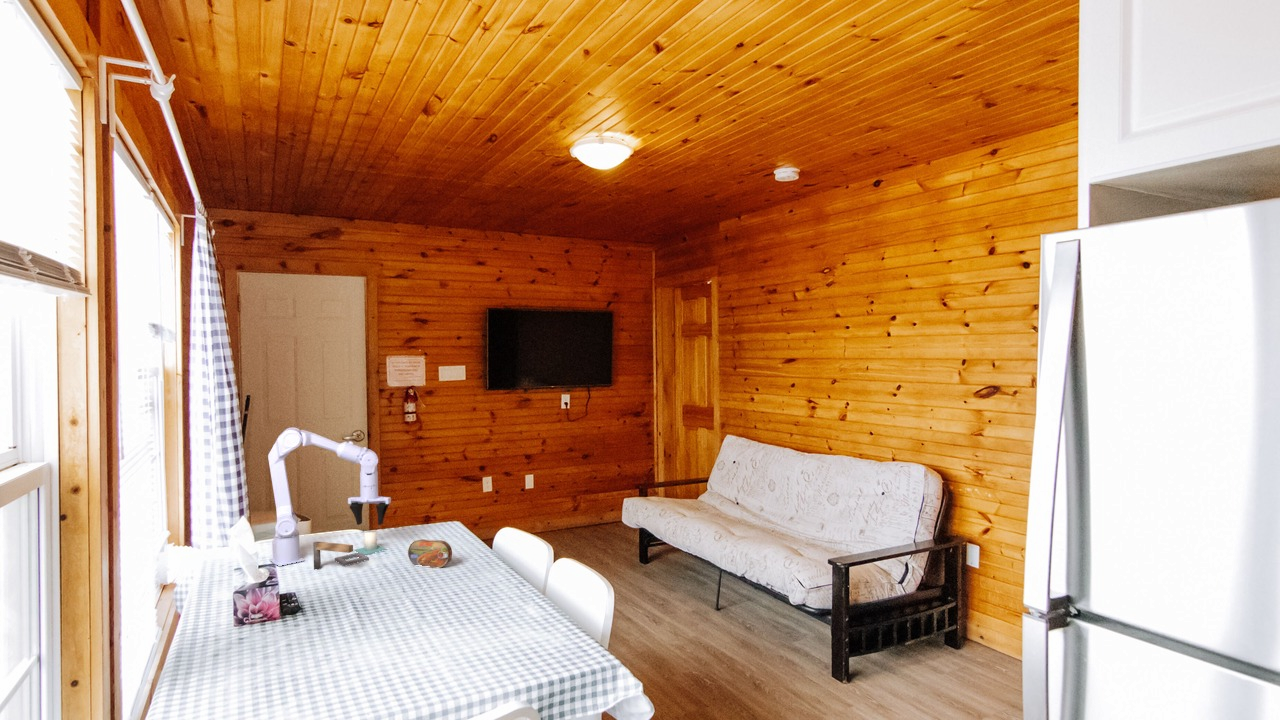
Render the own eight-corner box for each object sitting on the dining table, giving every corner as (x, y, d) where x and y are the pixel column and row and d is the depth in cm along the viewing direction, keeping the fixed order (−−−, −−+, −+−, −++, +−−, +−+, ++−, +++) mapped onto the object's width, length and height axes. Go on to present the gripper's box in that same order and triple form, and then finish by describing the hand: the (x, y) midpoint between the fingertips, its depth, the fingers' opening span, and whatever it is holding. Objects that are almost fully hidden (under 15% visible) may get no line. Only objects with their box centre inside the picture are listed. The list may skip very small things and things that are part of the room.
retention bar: (312, 569, 216) (311, 543, 216) (317, 567, 218) (316, 541, 218) (349, 573, 212) (348, 546, 212) (353, 571, 214) (353, 544, 213)
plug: (361, 550, 234) (361, 533, 234) (370, 547, 238) (369, 530, 238) (371, 551, 233) (370, 534, 233) (379, 548, 237) (378, 531, 236)
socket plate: (334, 560, 225) (334, 557, 225) (358, 555, 230) (358, 552, 230) (344, 565, 219) (344, 562, 219) (368, 560, 225) (368, 557, 225)
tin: (407, 565, 219) (407, 539, 218) (413, 562, 222) (413, 537, 221) (448, 569, 214) (447, 542, 214) (453, 566, 217) (453, 540, 217)
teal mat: (354, 551, 235) (354, 549, 235) (376, 546, 241) (376, 544, 241) (364, 555, 230) (364, 554, 230) (387, 550, 235) (387, 549, 235)
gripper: (343, 487, 232) (344, 527, 232) (383, 487, 230) (384, 527, 231) (353, 483, 239) (354, 521, 239) (393, 483, 237) (394, 522, 238)
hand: (370, 524), depth 235 cm, fingers open, 7 cm apart
